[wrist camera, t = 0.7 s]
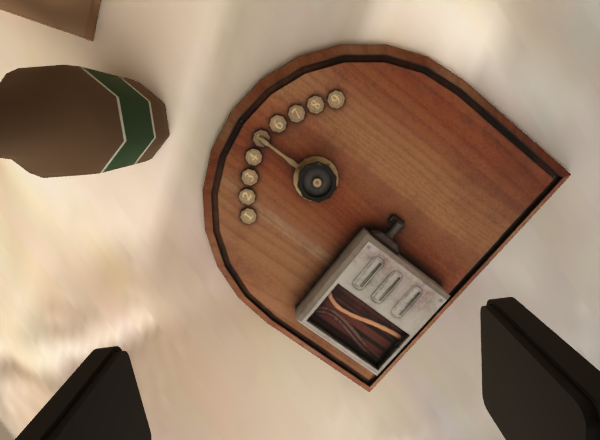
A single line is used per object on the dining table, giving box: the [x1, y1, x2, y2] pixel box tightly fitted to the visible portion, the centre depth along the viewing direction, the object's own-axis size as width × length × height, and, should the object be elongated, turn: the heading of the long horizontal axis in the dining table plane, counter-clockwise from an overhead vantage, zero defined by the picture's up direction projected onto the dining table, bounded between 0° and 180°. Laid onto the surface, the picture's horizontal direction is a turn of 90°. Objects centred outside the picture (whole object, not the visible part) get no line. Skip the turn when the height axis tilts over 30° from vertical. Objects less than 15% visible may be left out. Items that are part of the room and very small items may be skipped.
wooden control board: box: [203, 45, 571, 392], centre depth 38 cm, size 31×5×30 cm
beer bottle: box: [0, 65, 169, 178], centre depth 27 cm, size 8×8×24 cm
